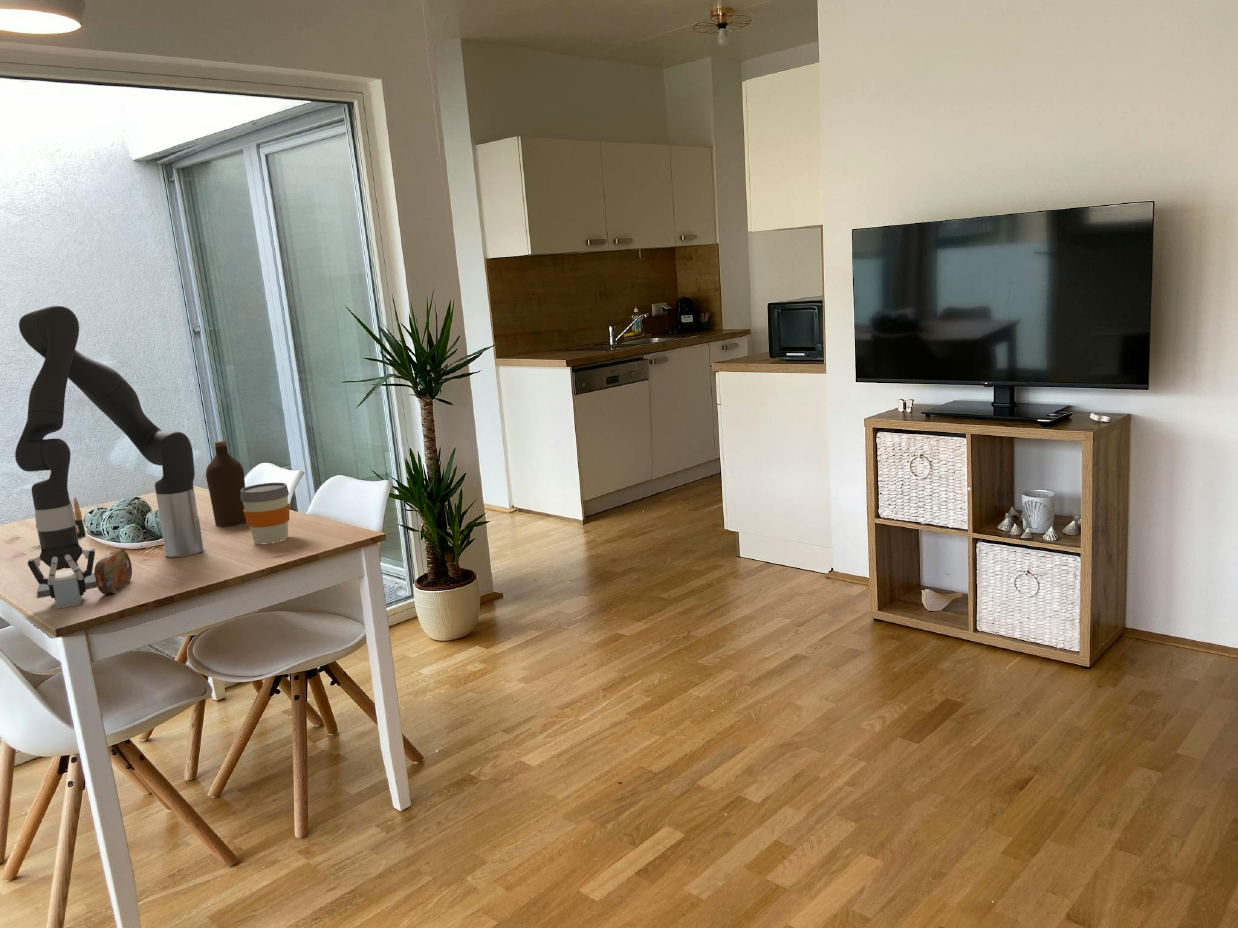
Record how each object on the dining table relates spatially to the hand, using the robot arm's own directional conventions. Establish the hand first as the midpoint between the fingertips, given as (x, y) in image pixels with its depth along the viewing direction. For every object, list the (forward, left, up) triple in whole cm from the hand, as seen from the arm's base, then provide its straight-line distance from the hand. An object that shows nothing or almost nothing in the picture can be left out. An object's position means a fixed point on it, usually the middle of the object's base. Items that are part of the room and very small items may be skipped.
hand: (69, 596), depth 218 cm
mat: (0, -14, -1) cm, 14 cm away
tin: (-10, -4, -1) cm, 10 cm away
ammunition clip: (+4, -71, -1) cm, 71 cm away
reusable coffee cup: (-48, -26, -1) cm, 55 cm away
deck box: (0, 0, -1) cm, 1 cm away
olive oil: (-41, -57, -1) cm, 70 cm away
